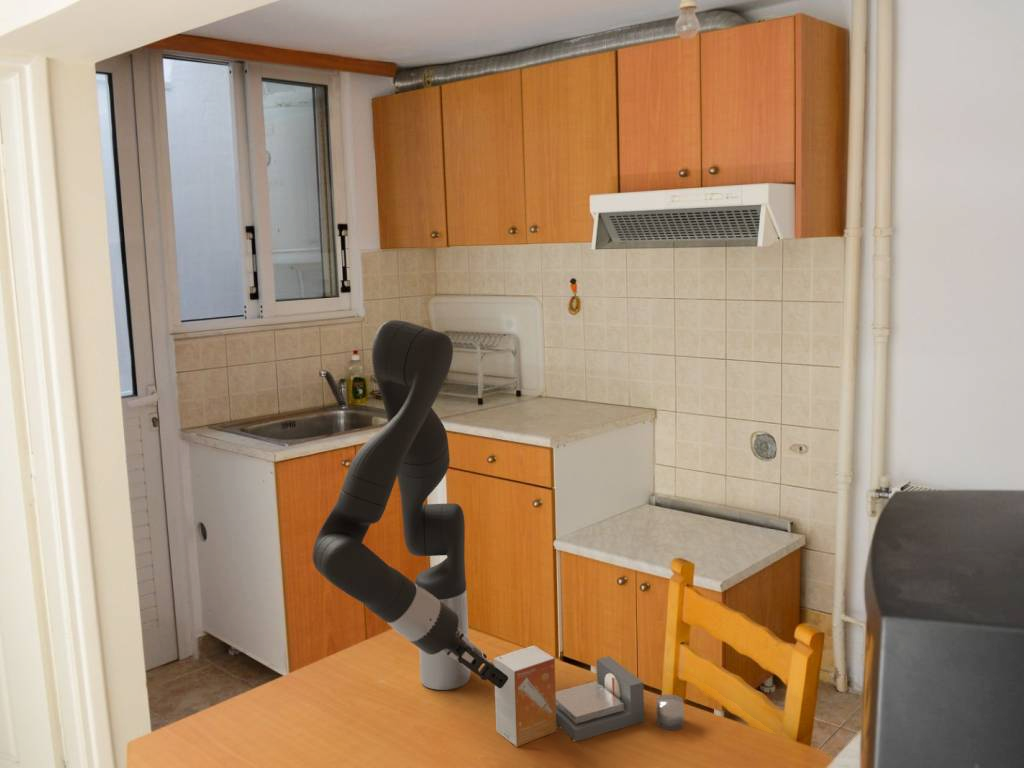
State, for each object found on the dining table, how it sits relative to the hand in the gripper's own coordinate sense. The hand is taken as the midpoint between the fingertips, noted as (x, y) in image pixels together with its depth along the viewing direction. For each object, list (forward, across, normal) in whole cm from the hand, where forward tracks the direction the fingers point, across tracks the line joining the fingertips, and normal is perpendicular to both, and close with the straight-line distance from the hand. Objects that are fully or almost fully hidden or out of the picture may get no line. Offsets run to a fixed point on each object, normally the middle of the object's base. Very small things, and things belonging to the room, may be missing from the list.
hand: (493, 671), depth 150 cm
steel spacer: (+28, -9, -11) cm, 31 cm away
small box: (+12, 0, +5) cm, 13 cm away
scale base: (+21, -1, -4) cm, 21 cm away
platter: (+18, -1, -5) cm, 19 cm away
